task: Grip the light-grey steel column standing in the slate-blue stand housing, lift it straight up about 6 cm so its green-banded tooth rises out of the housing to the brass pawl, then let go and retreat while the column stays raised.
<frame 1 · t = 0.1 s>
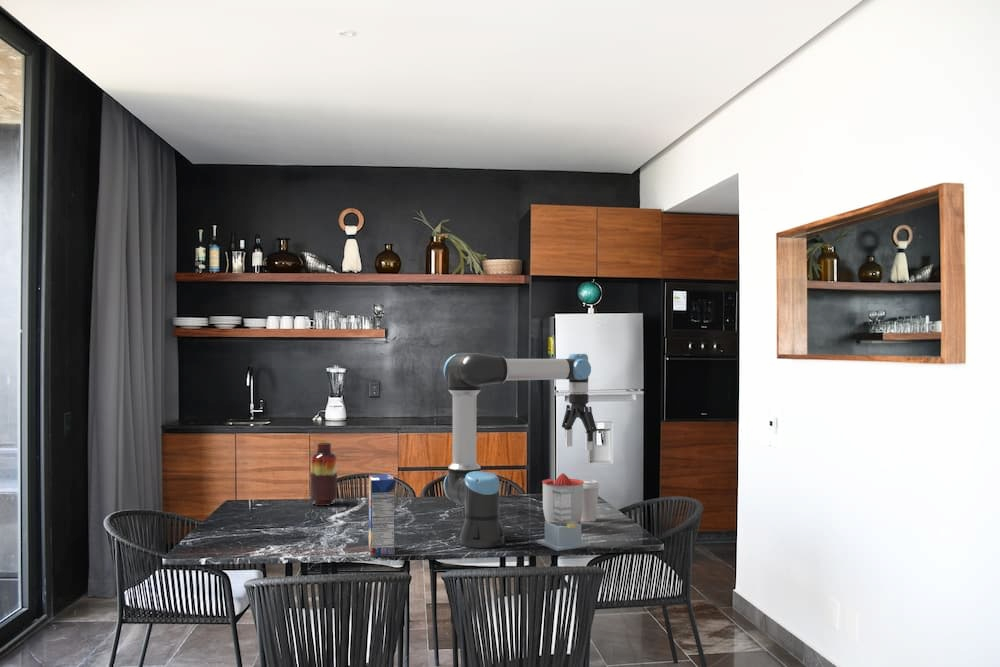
hand: (578, 448, 299), 28 cm above the table, fingers open, 13 cm apart
citrus juicer: (562, 527, 288), on the table
juice carton: (381, 551, 252), on the table
vase: (323, 504, 332), on the table
coffee cup: (587, 520, 300), on the table
column: (562, 516, 261), point 9 cm above the table, slide at 0.0 cm
stand base: (562, 544, 261), on the table
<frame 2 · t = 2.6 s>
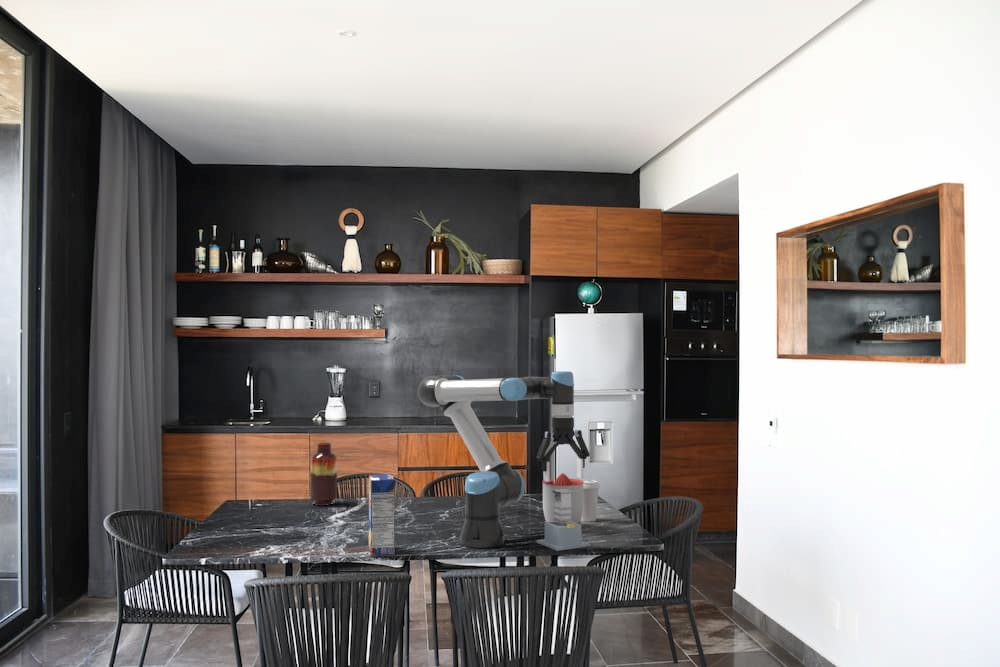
hand: (563, 479, 261), 22 cm above the table, fingers open, 13 cm apart
nothing on the table moved.
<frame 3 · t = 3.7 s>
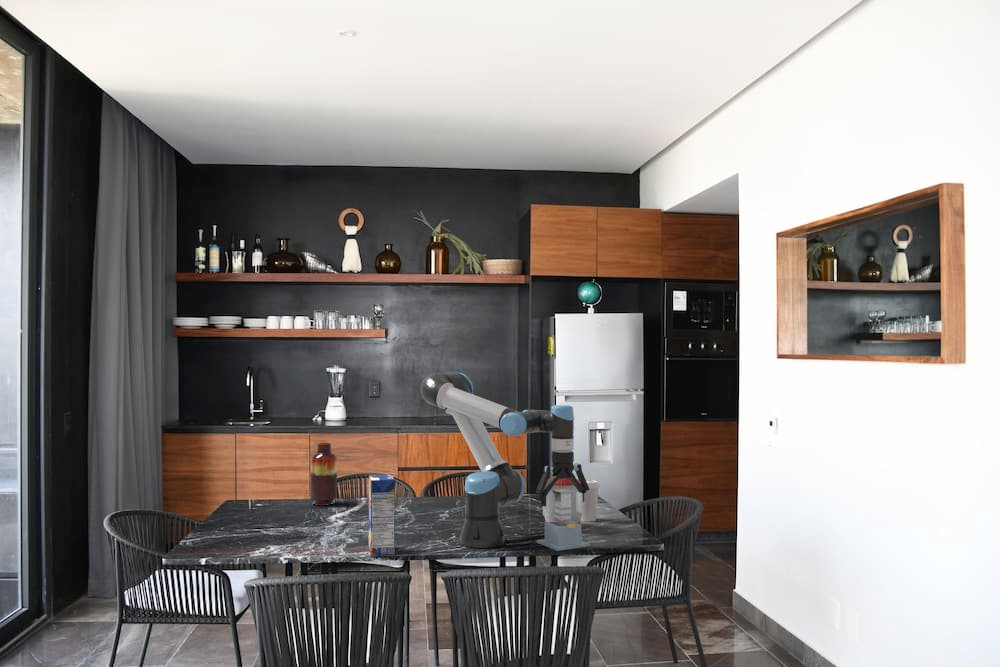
hand: (562, 513, 261), 10 cm above the table, fingers open, 13 cm apart
nothing on the table moved.
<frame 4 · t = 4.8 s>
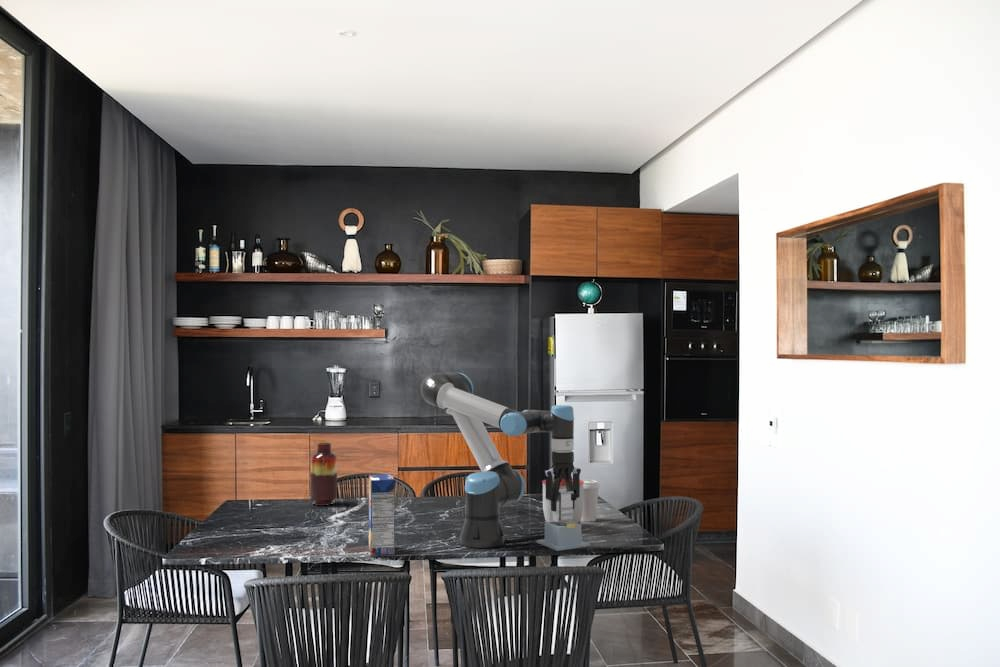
hand: (562, 519, 261), 8 cm above the table, fingers closed on column, 5 cm apart
column: (562, 516, 261), point 9 cm above the table, slide at 0.0 cm, touching gripper
everything else where it was.
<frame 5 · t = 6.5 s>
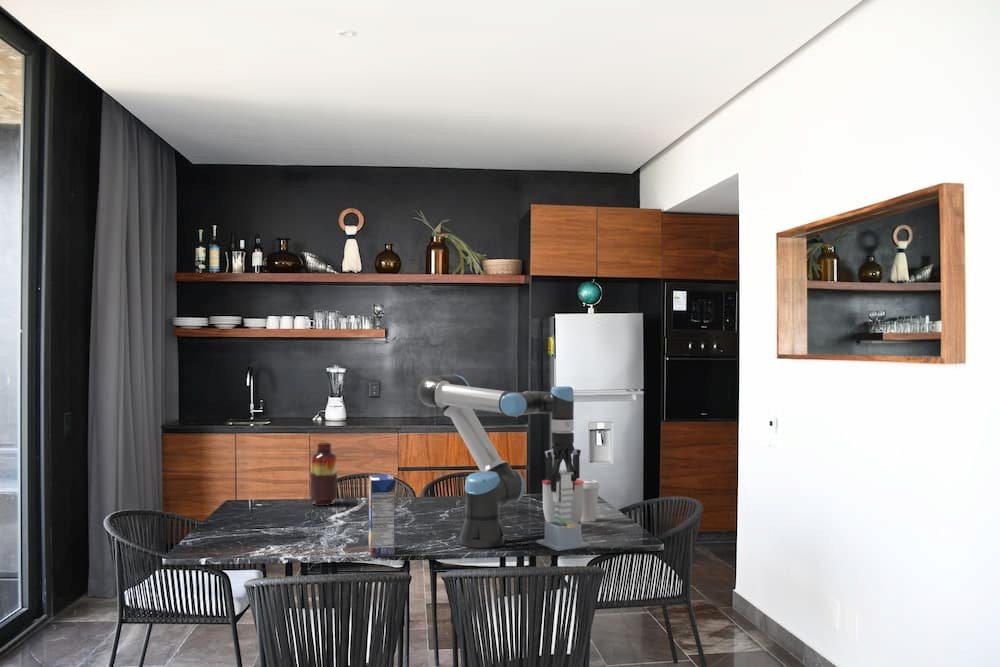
hand: (562, 500, 261), 15 cm above the table, fingers closed on column, 5 cm apart
column: (562, 497, 261), point 16 cm above the table, slide at 6.5 cm, touching gripper
everything else where it was.
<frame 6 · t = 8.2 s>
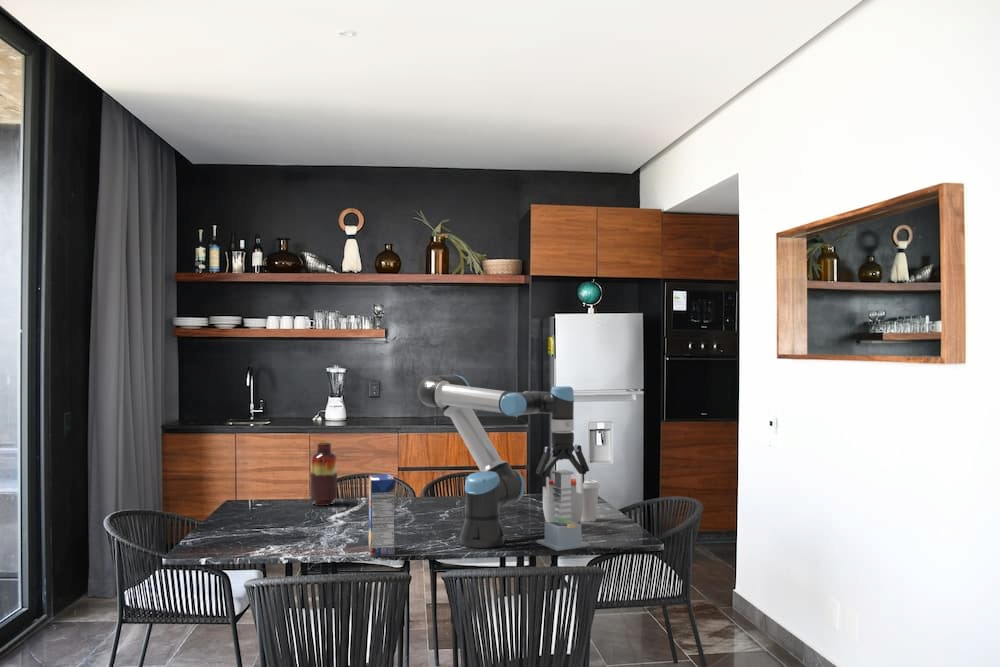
hand: (562, 494, 261), 17 cm above the table, fingers open, 13 cm apart
column: (562, 497, 261), point 16 cm above the table, slide at 6.5 cm
everything else where it was.
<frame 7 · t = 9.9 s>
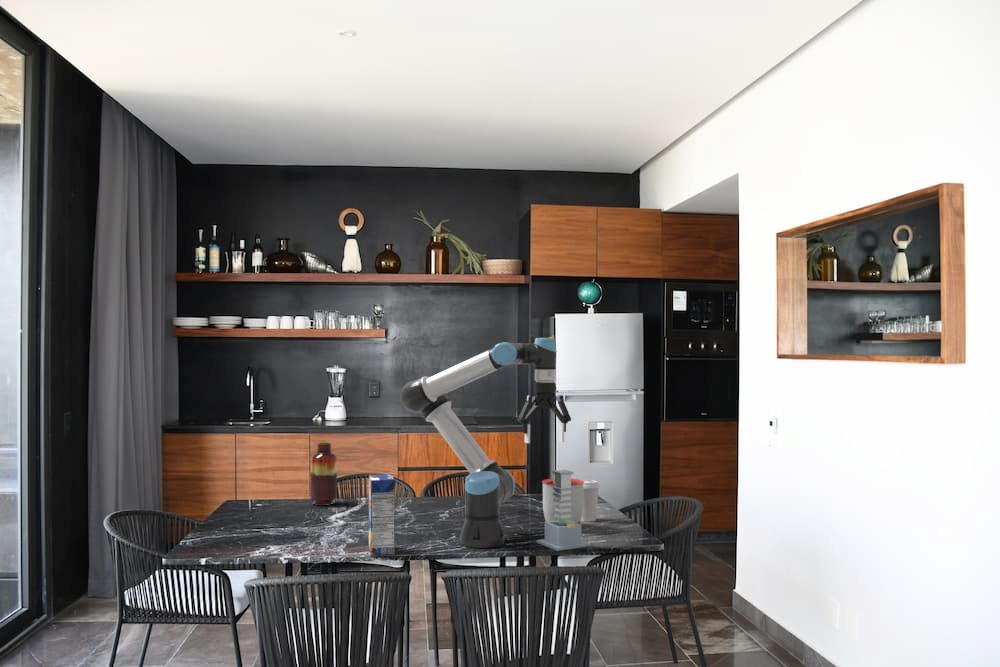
hand: (544, 442, 270), 33 cm above the table, fingers open, 13 cm apart
nothing on the table moved.
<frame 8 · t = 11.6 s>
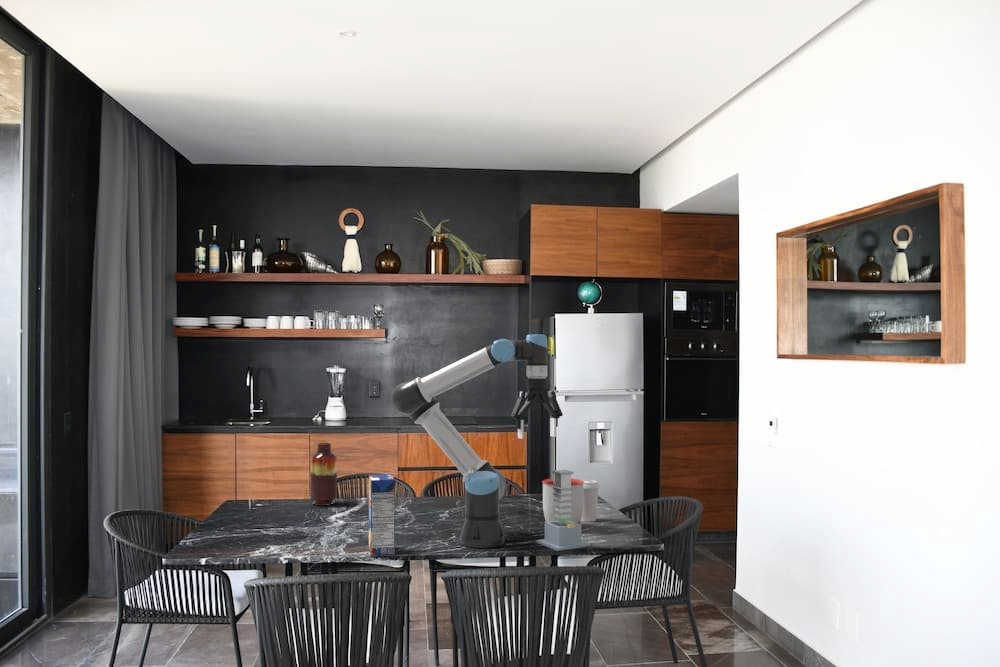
hand: (537, 437, 274), 35 cm above the table, fingers open, 13 cm apart
nothing on the table moved.
at the end: column slide at 6.5 cm; the gripper is holding nothing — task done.
